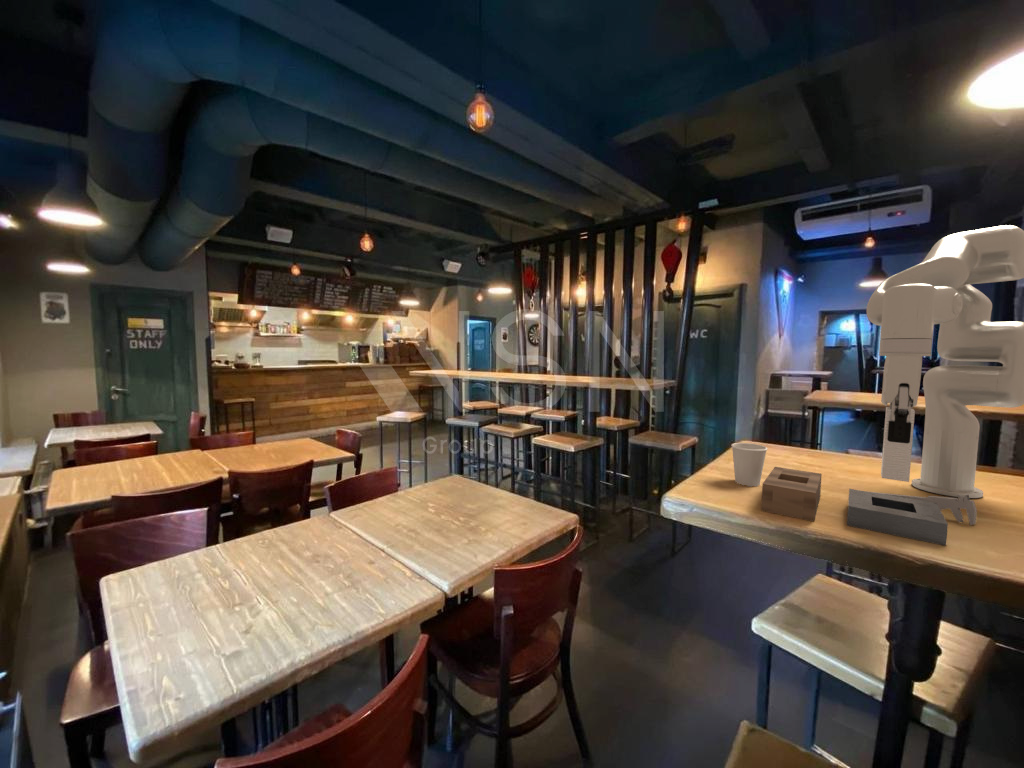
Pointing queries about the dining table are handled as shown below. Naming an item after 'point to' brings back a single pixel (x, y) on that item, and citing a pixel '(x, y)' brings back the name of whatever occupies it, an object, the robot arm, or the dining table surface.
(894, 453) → the rectangular block
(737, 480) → the dixie cup
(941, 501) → the caliper
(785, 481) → the slotted block
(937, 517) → the seat block
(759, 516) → the dining table surface
